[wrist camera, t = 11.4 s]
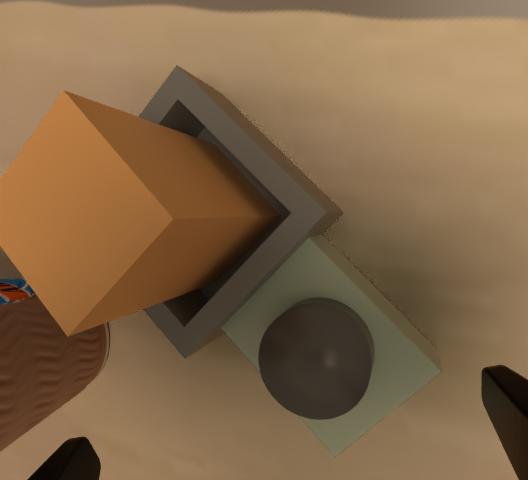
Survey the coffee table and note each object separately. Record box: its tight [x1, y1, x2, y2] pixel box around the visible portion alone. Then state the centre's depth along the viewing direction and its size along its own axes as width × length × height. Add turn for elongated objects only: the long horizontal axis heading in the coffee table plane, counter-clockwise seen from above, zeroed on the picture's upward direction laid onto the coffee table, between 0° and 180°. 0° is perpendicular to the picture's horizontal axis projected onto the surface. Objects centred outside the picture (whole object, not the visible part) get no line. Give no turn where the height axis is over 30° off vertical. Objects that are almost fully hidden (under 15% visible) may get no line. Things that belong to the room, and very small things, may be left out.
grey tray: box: [139, 65, 442, 457], centre depth 19 cm, size 16×9×5 cm, turn 47°
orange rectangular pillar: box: [0, 90, 281, 337], centre depth 17 cm, size 5×5×10 cm
